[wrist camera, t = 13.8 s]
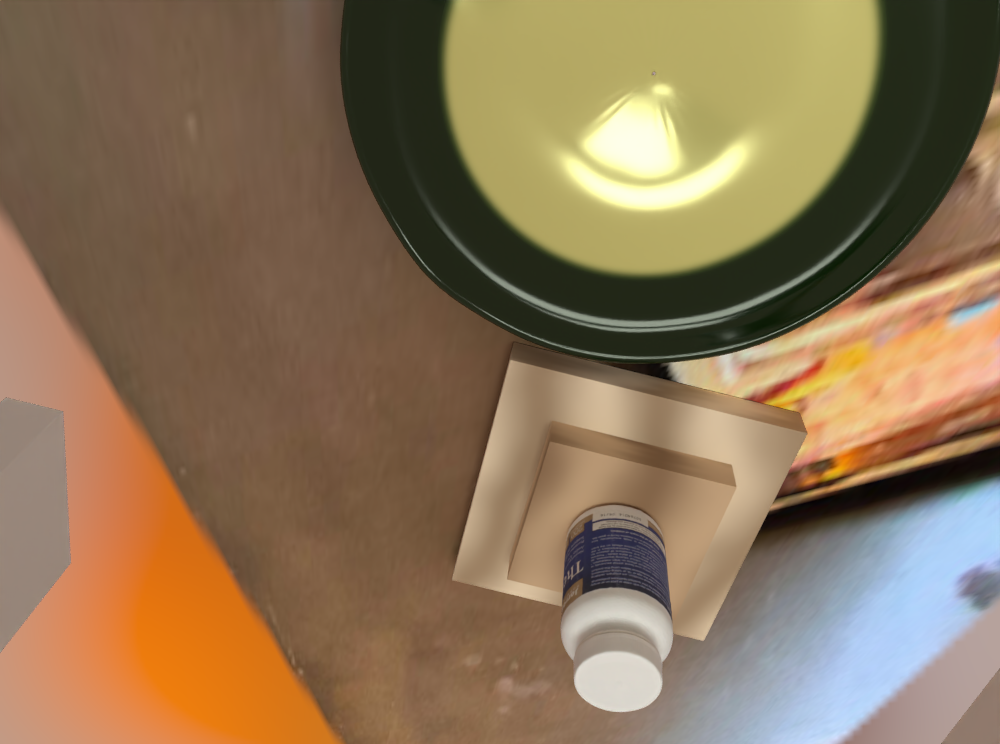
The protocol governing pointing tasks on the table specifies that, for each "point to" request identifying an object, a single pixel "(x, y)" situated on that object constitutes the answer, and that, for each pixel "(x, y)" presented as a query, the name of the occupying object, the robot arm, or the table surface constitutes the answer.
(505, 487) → the base
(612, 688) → the pill bottle
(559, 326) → the plate
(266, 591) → the table surface
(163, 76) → the table surface
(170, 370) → the table surface
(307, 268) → the table surface
